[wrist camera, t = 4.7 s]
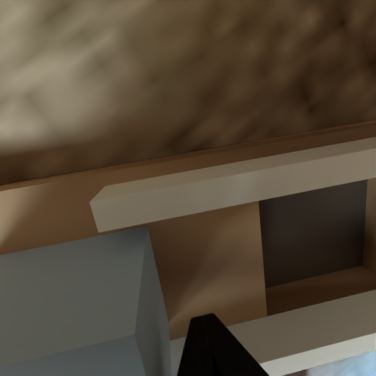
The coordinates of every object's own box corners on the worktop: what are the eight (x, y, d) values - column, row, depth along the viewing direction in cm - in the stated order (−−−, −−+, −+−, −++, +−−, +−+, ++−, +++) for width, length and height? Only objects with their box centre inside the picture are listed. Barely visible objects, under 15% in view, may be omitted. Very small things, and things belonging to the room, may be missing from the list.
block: (168, 322, 10) (177, 489, 5) (35, 354, 10) (-84, 570, 5) (147, 225, 9) (134, 334, 4) (-8, 256, 8) (-229, 421, 4)
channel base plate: (372, 280, 14) (406, 304, 12) (-47, 382, 12) (-87, 431, 10) (385, 118, 11) (431, 114, 9) (-152, 211, 9) (-234, 232, 7)
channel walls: (407, 296, 12) (455, 328, 10) (152, 361, 11) (151, 411, 9) (429, 127, 10) (498, 125, 8) (105, 186, 8) (89, 201, 6)
